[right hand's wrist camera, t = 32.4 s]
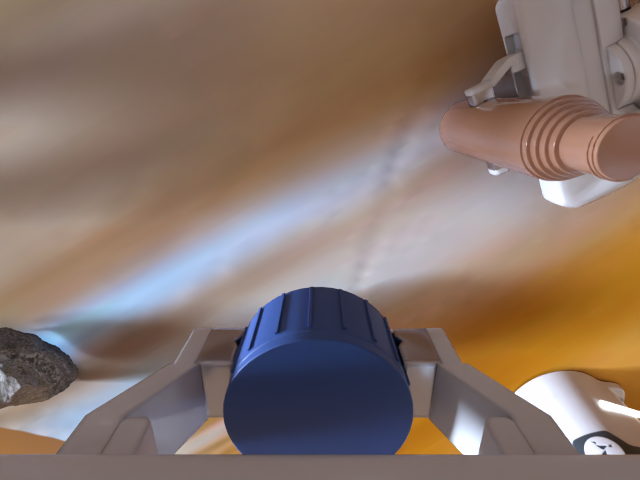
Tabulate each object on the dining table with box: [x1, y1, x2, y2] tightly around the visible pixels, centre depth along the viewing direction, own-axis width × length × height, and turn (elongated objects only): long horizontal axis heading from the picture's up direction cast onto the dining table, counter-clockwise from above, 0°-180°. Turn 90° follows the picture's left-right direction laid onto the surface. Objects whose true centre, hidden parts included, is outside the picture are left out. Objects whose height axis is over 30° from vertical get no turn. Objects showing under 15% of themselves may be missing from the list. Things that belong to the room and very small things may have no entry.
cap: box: [223, 287, 414, 455], centre depth 9 cm, size 4×5×2 cm
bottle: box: [440, 95, 640, 182], centre depth 27 cm, size 5×5×21 cm
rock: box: [0, 327, 78, 409], centre depth 44 cm, size 13×9×6 cm, turn 74°
